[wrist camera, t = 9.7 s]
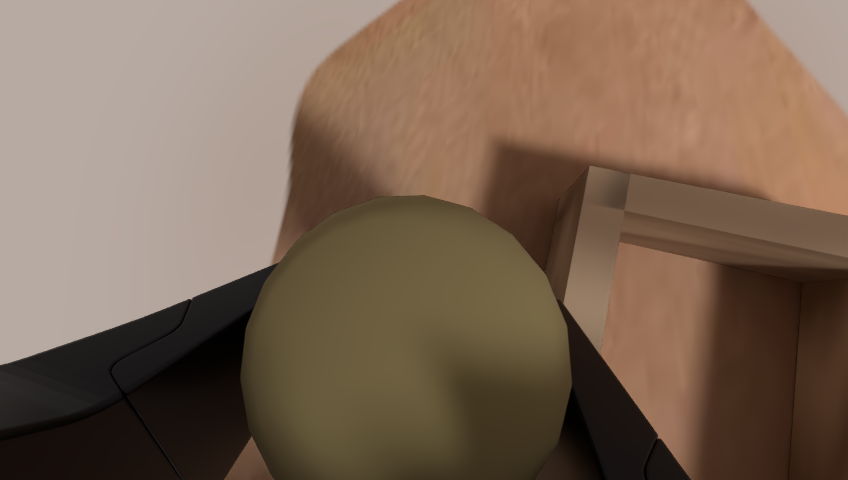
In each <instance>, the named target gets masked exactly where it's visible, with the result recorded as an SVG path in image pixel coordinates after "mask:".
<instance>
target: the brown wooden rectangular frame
mask: <svg viewBox="0 0 848 480" xmlns="http://www.w3.org/2000/svg"><path fill="white" fill-rule="evenodd" d="M619 242H624V243H628V244H633V245H637V246H642V247H646V248H651V249H655V250H660V251H664V252H669V253H673V254H678V255H682V256H687V257H691V258H696V259H700V260H704V261H709V262H713V263H718V264H722V265H727V266H731V267H736V268H740V269H745V270H749V271H754V272H758V273H763V274H767V275H772V276H776V277H781V278H785V279H790V280H794V281H799V282H802V297H801V311H800V325H799V339H798V353H797V368H796V382H795V396H794V410H793V425H792V439H791V453H790V467H789V480H848V216H846V215H841V214H836V213H831V212H825V211H820V210H815V209H810V208H805V207H800V206H795V205H790V204H784V203H779V202H774V201H769V200H764V199H759V198H754V197H748V196H743V195H738V194H733V193H728V192H723V191H718V190H713V189H707V188H702V187H697V186H692V185H687V184H682V183H677V182H672V181H666V180H661V179H656V178H651V177H646V176H641V175H636V174H630V173H625V172H620V171H615V170H610V169H605V168H600V167H595V166H589V167H588V168H587V169H586V170H585V171H584V172H583V173H582V175H581V176H580V177H579V178H578V179H577V180H576V181H575V182H574V183H573V185H572V186H571V187H570V188H569V189H568V190H567V191H566V192H565V193H564V194H563V196H562V197H561V198H560V200H559V205H558V210H557V215H556V220H555V225H554V230H553V235H552V240H551V244H550V249H549V254H548V259H547V264H546V269H545V274H546V276H547V279H548V281H549V284H550V286H551V289H552V291H553V293H554V296H555V298H557V299H560V300H561V301H562V302H563V304H564V305H565V306H566V308H567V309H568V311H569V312H570V313H571V315H572V316H573V318H574V319H575V320H576V322H577V323H578V325H579V326H580V327H581V329H582V330H583V331H584V333H585V334H586V336H587V337H588V338H589V340H590V341H591V343H592V344H593V345H594V347H595V348H596V350H597V351H598V352H599V354H600V353H601V347H602V341H603V335H604V329H605V323H606V317H607V311H608V305H609V299H610V293H611V287H612V281H613V275H614V269H615V263H616V257H617V251H618V245H619Z"/></svg>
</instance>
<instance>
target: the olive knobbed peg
mask: <svg viewBox="0 0 848 480" xmlns="http://www.w3.org/2000/svg"><path fill="white" fill-rule="evenodd" d="M240 380H241V386H242V392H243V398H244V404H245V410H246V416H247V422H248V428H249V431H250V433H251V435H252V437H253V439H254V441H255V443H256V445H257V447H258V449H259V451H260V453H261V455H262V457H263V459H264V461H265V463H266V465H267V467H268V469H269V471H270V473H271V475H272V477H273V478H274V479H275V480H535V479H536V477H537V476H538V474H539V473H540V471H541V469H542V468H543V466H544V465H545V463H546V461H547V460H548V458H549V457H550V455H551V454H552V452H553V450H554V449H555V447H556V446H557V444H558V442H559V438H560V433H561V429H562V425H563V421H564V416H565V412H566V408H567V404H568V400H569V395H570V391H571V387H572V378H571V366H570V354H569V343H568V331H567V325H566V322H565V320H564V318H563V315H562V313H561V310H560V308H559V305H558V303H557V301H556V298H555V296H554V293H553V291H552V289H551V286H550V284H549V281H548V279H547V276H546V274H545V273H544V272H543V271H542V270H541V268H540V267H539V266H538V265H537V264H536V262H535V261H534V260H533V259H532V258H531V256H530V255H529V254H528V253H527V252H526V250H525V249H524V248H523V247H522V246H521V245H520V243H519V242H518V241H517V240H516V239H515V237H514V236H513V235H512V234H511V233H509V232H507V231H506V230H504V229H503V228H501V227H500V226H498V225H497V224H495V223H493V222H492V221H490V220H489V219H487V218H486V217H484V216H482V215H481V214H479V213H478V212H476V211H475V210H473V209H472V208H470V207H466V206H462V205H459V204H455V203H451V202H447V201H444V200H440V199H436V198H433V197H429V196H425V195H419V196H395V197H377V198H374V199H372V200H369V201H366V202H363V203H360V204H357V205H355V206H352V207H349V208H346V209H343V210H340V211H338V212H335V213H333V214H332V215H331V216H329V217H328V218H326V219H325V220H324V221H322V222H321V223H320V224H318V225H317V226H316V227H314V228H313V229H311V230H310V231H309V232H307V233H306V234H305V235H303V236H302V237H300V238H299V239H298V240H297V241H296V242H295V243H294V245H293V246H292V247H291V248H290V250H289V251H288V252H287V254H286V255H285V256H284V257H283V259H282V260H281V261H280V263H279V264H278V265H277V266H276V268H275V269H274V270H273V272H272V273H271V274H270V275H269V277H268V278H267V280H266V281H265V282H264V284H263V287H262V289H261V292H260V294H259V297H258V299H257V302H256V304H255V307H254V309H253V312H252V314H251V316H250V319H249V321H248V324H247V326H246V331H245V340H244V349H243V358H242V366H241V375H240Z"/></svg>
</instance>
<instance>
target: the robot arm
mask: <svg viewBox="0 0 848 480" xmlns="http://www.w3.org/2000/svg"><path fill="white" fill-rule="evenodd" d="M279 263H280V262H279ZM279 263H277V264H274V265H272V266H269V267H267V268H264V269H262V270H260V271H257V272H255V273H252V274H250V275H247V276H245V277H242V278H240V279H237V280H235V281H232V282H230V283H228V284H225V285H223V286H220V287H218V288H215V289H213V290H210V291H208V292H206V293H203V294H200V295H198V296H196V297H194V298H193V299H192V300H191V299H188V300H186V301H183V302H181V303H178V304H176V305H173V306H171V307H169V308H166V309H163V310H161V311H158V312H155V313H153V314H150V315H148V316H145V317H143V318H140V319H137V320H134V321H131V322H129V323H126V324H123V325H120V326H118V327H115V328H112V329H109V330H106V331H103V332H100V333H97V334H95V335H91V336H89V337H85V338H83V339H80V340H77V341H74V342H71V343H68V344H65V345H62V346H59V347H56V348H53V349H50V350H48V351H44V352H42V353H38V354H36V355H33V356H30V357H27V358H24V359H21V360H17V361H14V362H11V363H8V364H3V365H0V480H224V479H225V477H226V475H227V474H228V472H229V471H230V469H231V468H232V466H233V464H234V463H235V461H236V460H237V458H238V457H239V455H240V454H241V452H242V450H243V449H244V447H245V446H246V444H247V443H248V441H249V439H250V438H251V436H252V435H251V433H250V431H249V428H248V422H247V416H246V410H245V404H244V398H243V392H242V386H241V380H240V375H241V366H242V358H243V349H244V340H245V331H246V326H247V324H248V321H249V319H250V316H251V314H252V312H253V309H254V307H255V304H256V302H257V299H258V297H259V294H260V292H261V289H262V287H263V284H264V282H265V281H266V280H267V278H268V277H269V275H270V274H271V273H272V272H273V270H274V269H275V268H276V266H277V265H278V264H279ZM556 301H557V303H558V305H559V308H560V310H561V313H562V315H563V318H564V320H565V322H566V325H567V331H568V343H569V354H570V366H571V378H572V387H571V391H570V395H569V400H568V404H567V408H566V412H565V416H564V421H563V425H562V429H561V433H560V438H559V442H558V444H557V446H556V447H555V449H554V450H553V452H552V454H551V455H550V457H549V458H548V460H547V461H546V463H545V465H544V466H543V468H542V469H541V471H540V473H539V474H538V476H537V477H536V479H535V480H691V479H690V478H689V476H688V475H687V474H686V472H685V471H684V470H683V468H682V467H681V466H680V464H679V463H678V462H677V460H676V459H675V458H674V456H673V455H672V453H671V452H670V451H669V449H668V448H667V446H666V445H665V444H664V442H663V441H662V440H661V439H659V438H658V434H657V433H656V431H655V430H654V429H653V427H652V426H651V424H650V423H649V422H648V420H647V419H646V418H645V416H644V415H643V413H642V412H641V411H640V409H639V408H638V406H637V405H636V404H635V402H634V401H633V399H632V398H631V397H630V395H629V394H628V393H627V391H626V390H625V388H624V387H623V386H622V384H621V383H620V381H619V380H618V379H617V377H616V376H615V375H614V373H613V372H612V370H611V369H610V368H609V366H608V365H607V363H606V362H605V361H604V359H603V358H602V356H601V355H600V354H599V352H598V351H597V350H596V348H595V347H594V345H593V344H592V343H591V341H590V340H589V338H588V337H587V336H586V334H585V333H584V331H583V330H582V329H581V327H580V326H579V325H578V323H577V322H576V320H575V319H574V318H573V316H572V315H571V313H570V312H569V311H568V309H567V308H566V306H565V305H564V304H563V302H562V301H561V300H560V299H557V298H556ZM657 438H658V439H657Z"/></svg>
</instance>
